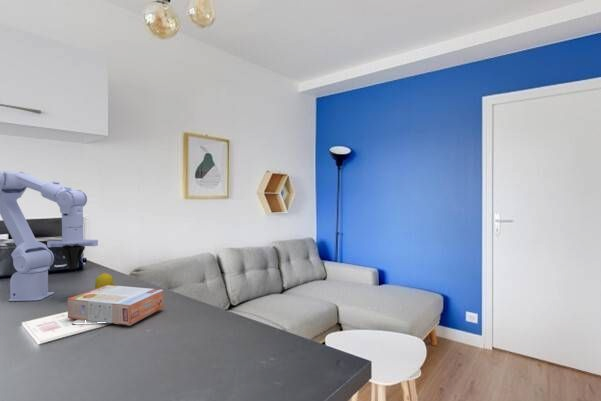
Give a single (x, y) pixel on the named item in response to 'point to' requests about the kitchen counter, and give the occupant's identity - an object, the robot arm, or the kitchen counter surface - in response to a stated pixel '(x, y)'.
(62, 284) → the kitchen counter surface
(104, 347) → the kitchen counter surface
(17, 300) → the robot arm
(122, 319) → the cracker box
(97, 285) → the lemon
